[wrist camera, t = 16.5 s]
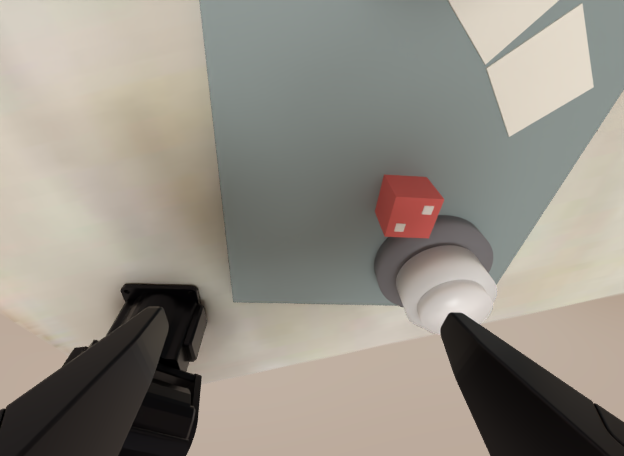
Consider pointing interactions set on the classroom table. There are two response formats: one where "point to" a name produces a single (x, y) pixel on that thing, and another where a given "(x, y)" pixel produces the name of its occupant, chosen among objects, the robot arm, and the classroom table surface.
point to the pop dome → (445, 287)
